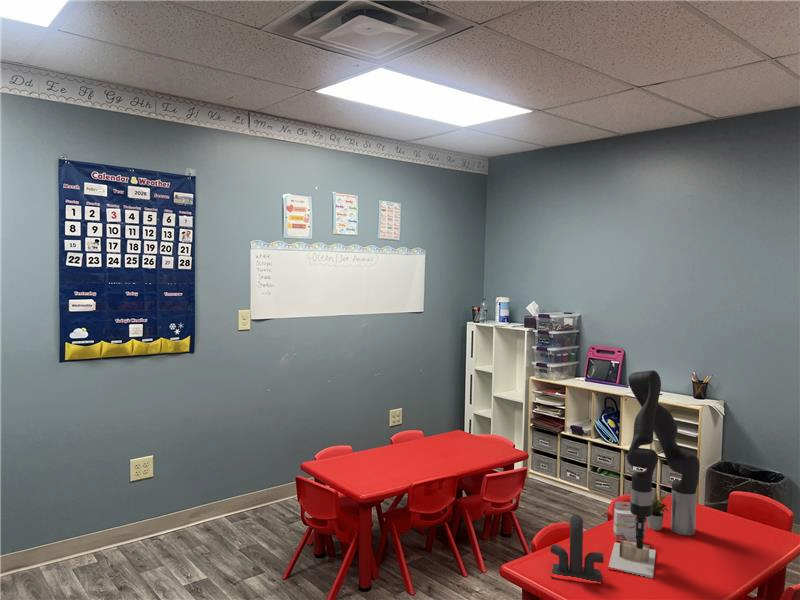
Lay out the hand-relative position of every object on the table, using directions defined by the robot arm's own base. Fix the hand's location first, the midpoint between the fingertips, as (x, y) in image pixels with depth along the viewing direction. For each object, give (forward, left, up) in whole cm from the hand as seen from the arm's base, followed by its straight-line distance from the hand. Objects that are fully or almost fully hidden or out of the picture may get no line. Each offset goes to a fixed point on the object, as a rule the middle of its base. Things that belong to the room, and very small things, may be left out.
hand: (640, 543), depth 224 cm
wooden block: (0, +3, -3) cm, 4 cm away
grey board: (+1, -3, -7) cm, 7 cm away
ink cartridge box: (-17, -7, -7) cm, 19 cm away
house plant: (-34, +2, -7) cm, 35 cm away
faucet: (+18, -21, -7) cm, 28 cm away
